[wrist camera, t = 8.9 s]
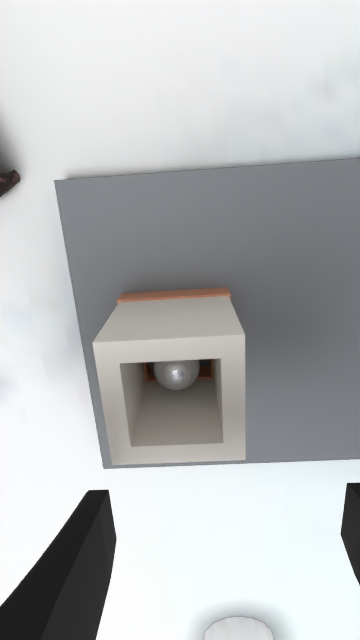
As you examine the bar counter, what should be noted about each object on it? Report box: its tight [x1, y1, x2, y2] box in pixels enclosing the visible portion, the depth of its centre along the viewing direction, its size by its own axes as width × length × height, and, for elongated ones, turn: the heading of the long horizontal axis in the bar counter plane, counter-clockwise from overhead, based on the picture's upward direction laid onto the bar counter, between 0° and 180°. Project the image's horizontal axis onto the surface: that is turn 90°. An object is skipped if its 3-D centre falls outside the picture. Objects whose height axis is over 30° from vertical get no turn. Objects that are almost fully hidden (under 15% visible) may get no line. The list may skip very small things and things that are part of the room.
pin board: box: [54, 158, 360, 469], centre depth 18 cm, size 22×16×2 cm
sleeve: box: [92, 287, 246, 465], centre depth 15 cm, size 5×5×6 cm
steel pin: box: [153, 360, 200, 391], centre depth 16 cm, size 2×2×4 cm
